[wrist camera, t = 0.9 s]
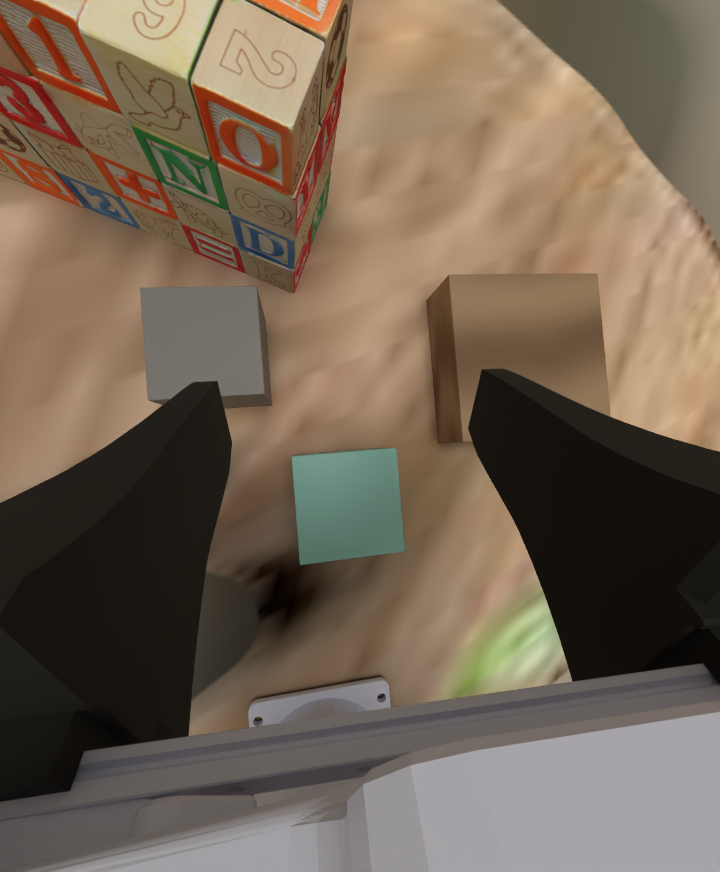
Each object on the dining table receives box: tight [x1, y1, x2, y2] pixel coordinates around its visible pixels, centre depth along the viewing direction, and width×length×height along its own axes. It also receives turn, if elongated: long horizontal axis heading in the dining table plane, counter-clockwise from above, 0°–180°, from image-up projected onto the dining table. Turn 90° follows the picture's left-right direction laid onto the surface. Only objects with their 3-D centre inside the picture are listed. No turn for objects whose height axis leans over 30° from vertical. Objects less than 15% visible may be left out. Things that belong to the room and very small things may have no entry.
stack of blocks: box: [0, 0, 353, 293], centre depth 16 cm, size 21×6×12 cm, turn 71°
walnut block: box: [426, 273, 611, 443], centre depth 23 cm, size 9×9×4 cm
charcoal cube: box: [140, 286, 272, 408], centre depth 20 cm, size 5×5×5 cm
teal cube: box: [292, 448, 405, 565], centre depth 21 cm, size 5×5×5 cm
